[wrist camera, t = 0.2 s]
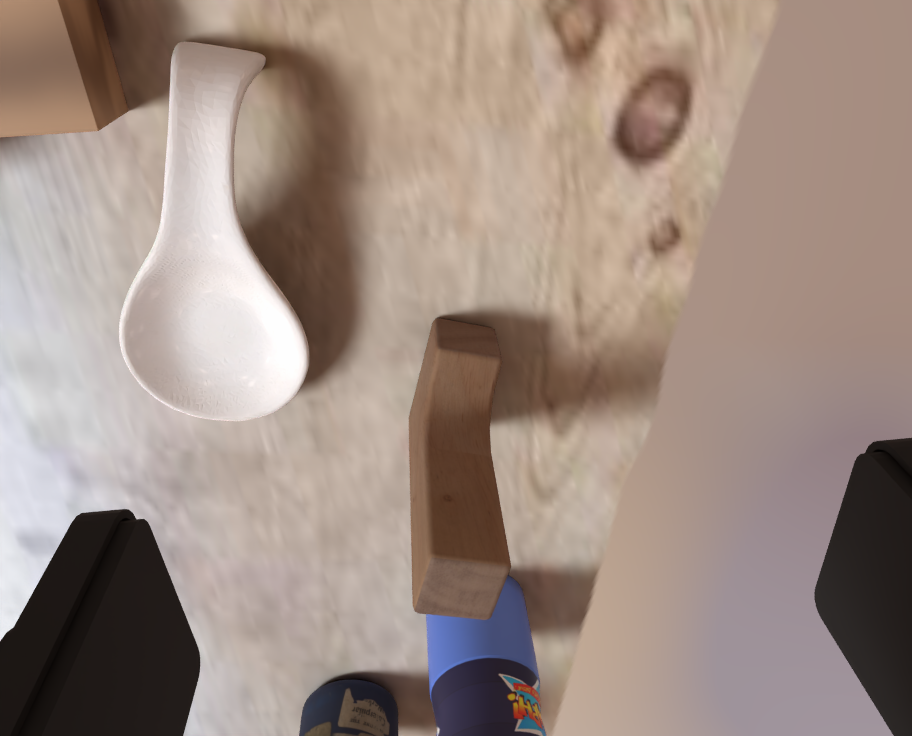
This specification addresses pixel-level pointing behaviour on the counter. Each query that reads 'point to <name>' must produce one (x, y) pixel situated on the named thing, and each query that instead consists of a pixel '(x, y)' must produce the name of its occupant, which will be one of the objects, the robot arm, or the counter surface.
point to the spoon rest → (209, 264)
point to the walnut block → (56, 68)
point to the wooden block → (456, 476)
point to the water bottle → (485, 671)
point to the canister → (350, 710)
